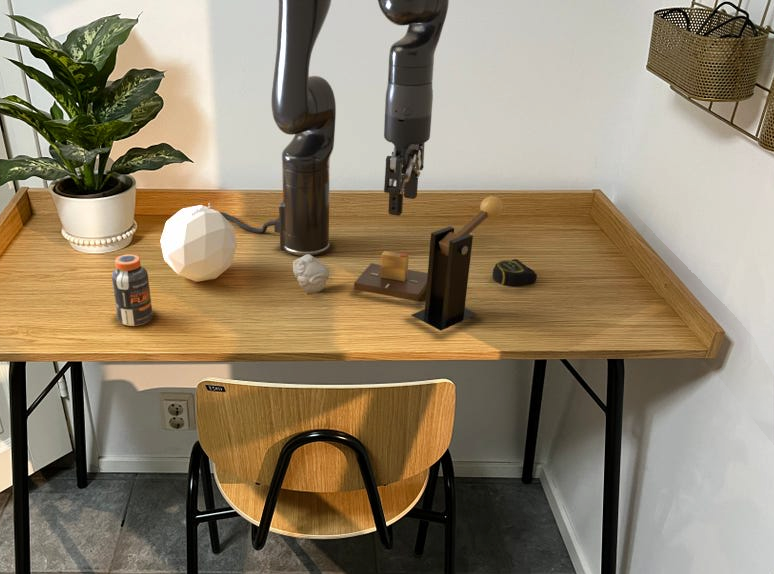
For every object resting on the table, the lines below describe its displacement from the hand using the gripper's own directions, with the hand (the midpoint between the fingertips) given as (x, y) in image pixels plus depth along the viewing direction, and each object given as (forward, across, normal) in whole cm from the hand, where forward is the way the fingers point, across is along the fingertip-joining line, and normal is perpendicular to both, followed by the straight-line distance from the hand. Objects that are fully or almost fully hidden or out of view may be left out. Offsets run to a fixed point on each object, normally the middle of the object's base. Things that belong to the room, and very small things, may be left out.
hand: (402, 206), depth 133 cm
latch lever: (+2, +3, +13) cm, 14 cm away
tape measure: (+16, -11, +19) cm, 27 cm away
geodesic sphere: (+16, +9, -36) cm, 41 cm away
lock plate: (+16, 0, -1) cm, 16 cm away
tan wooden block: (+14, 0, -1) cm, 14 cm away
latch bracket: (+16, +8, +11) cm, 21 cm away
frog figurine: (+16, +7, -14) cm, 23 cm away
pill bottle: (+16, +28, -38) cm, 50 cm away
